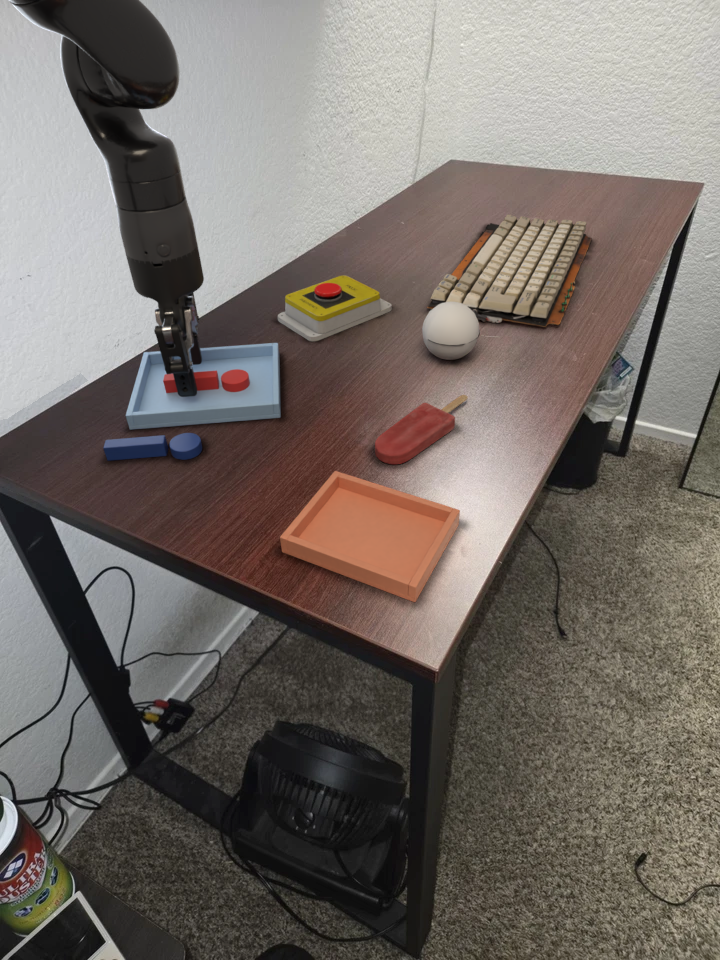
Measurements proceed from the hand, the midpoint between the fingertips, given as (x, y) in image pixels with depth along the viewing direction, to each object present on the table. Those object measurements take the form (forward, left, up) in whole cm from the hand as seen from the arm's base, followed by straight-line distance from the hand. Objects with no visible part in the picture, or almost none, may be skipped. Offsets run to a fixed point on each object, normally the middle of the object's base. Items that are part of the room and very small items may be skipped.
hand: (191, 378), depth 80 cm
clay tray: (+19, -28, -2) cm, 34 cm away
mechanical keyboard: (+49, +28, -2) cm, 57 cm away
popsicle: (+27, -12, -2) cm, 30 cm away
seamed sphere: (+34, +3, -2) cm, 34 cm away
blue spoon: (-3, -12, -2) cm, 13 cm away
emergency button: (+19, +18, -2) cm, 26 cm away
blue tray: (+2, 0, -2) cm, 3 cm away
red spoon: (+2, 0, -1) cm, 2 cm away
